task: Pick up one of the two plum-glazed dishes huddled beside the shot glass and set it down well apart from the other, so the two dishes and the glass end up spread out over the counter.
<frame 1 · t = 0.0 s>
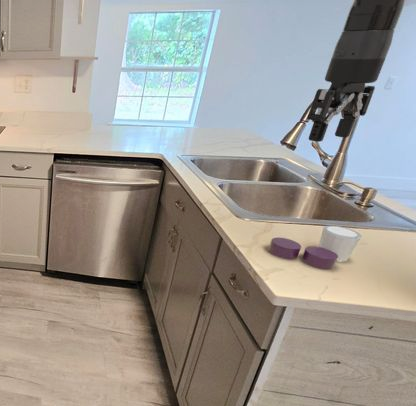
hand: (328, 138, 77), 31 cm above the worktop, tool pointing down, fingers open, 8 cm apart
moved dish: (282, 253, 94), on the worktop
shot glass: (331, 256, 92), on the worktop
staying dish: (317, 262, 89), on the worktop
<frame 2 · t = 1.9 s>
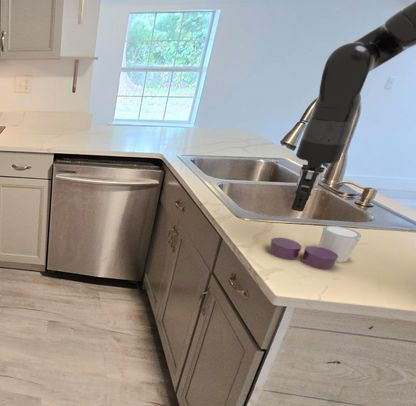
hand: (299, 204, 88), 14 cm above the worktop, tool pointing down, fingers open, 8 cm apart
nothing on the worktop moved.
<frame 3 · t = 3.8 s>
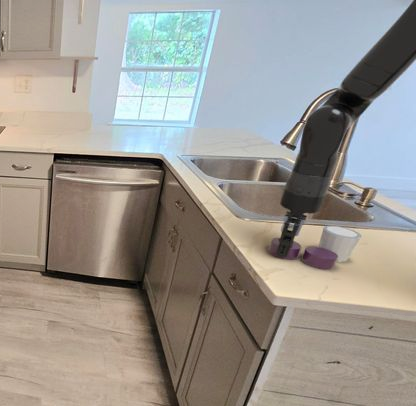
hand: (283, 250, 93), 1 cm above the worktop, tool pointing down, fingers closed on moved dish, 6 cm apart
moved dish: (282, 253, 94), on the worktop, touching gripper
everything else where it was.
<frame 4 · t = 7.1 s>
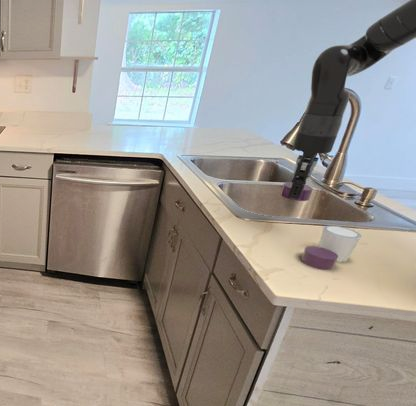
hand: (295, 193, 97), 12 cm above the worktop, tool pointing down, fingers closed on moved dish, 6 cm apart
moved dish: (294, 196, 98), point 12 cm above the worktop, touching gripper
everything else where it was.
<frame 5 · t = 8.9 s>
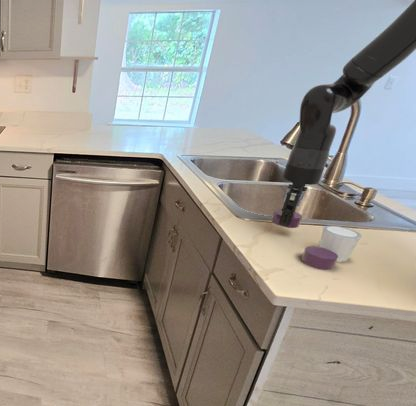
hand: (285, 220, 102), 4 cm above the worktop, tool pointing down, fingers closed on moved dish, 6 cm apart
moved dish: (284, 223, 102), point 3 cm above the worktop, touching gripper
everything else where it was.
when the fingers open (1 cm above the worktop, at t = 10.2 s): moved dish stays where it is, on the worktop.
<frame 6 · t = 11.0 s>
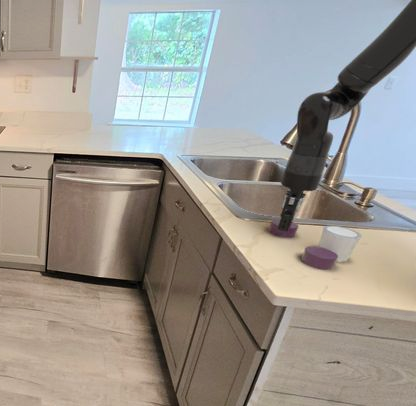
hand: (285, 225, 102), 3 cm above the worktop, tool pointing down, fingers open, 8 cm apart
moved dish: (281, 232, 103), on the worktop
everything else where it was.
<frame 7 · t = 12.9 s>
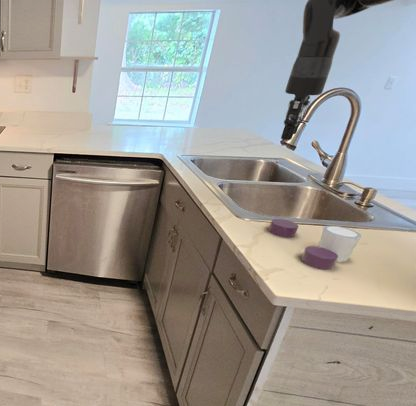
hand: (288, 136, 101), 26 cm above the worktop, tool pointing down, fingers open, 8 cm apart
nothing on the worktop moved.
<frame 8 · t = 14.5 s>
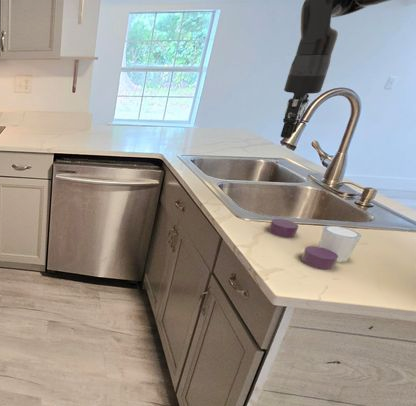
hand: (287, 134, 101), 26 cm above the worktop, tool pointing down, fingers open, 8 cm apart
nothing on the worktop moved.
at the end: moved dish 0.0 cm from the target spot, on the worktop; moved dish tilted 0°; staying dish moved 0.0 cm from its start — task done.
